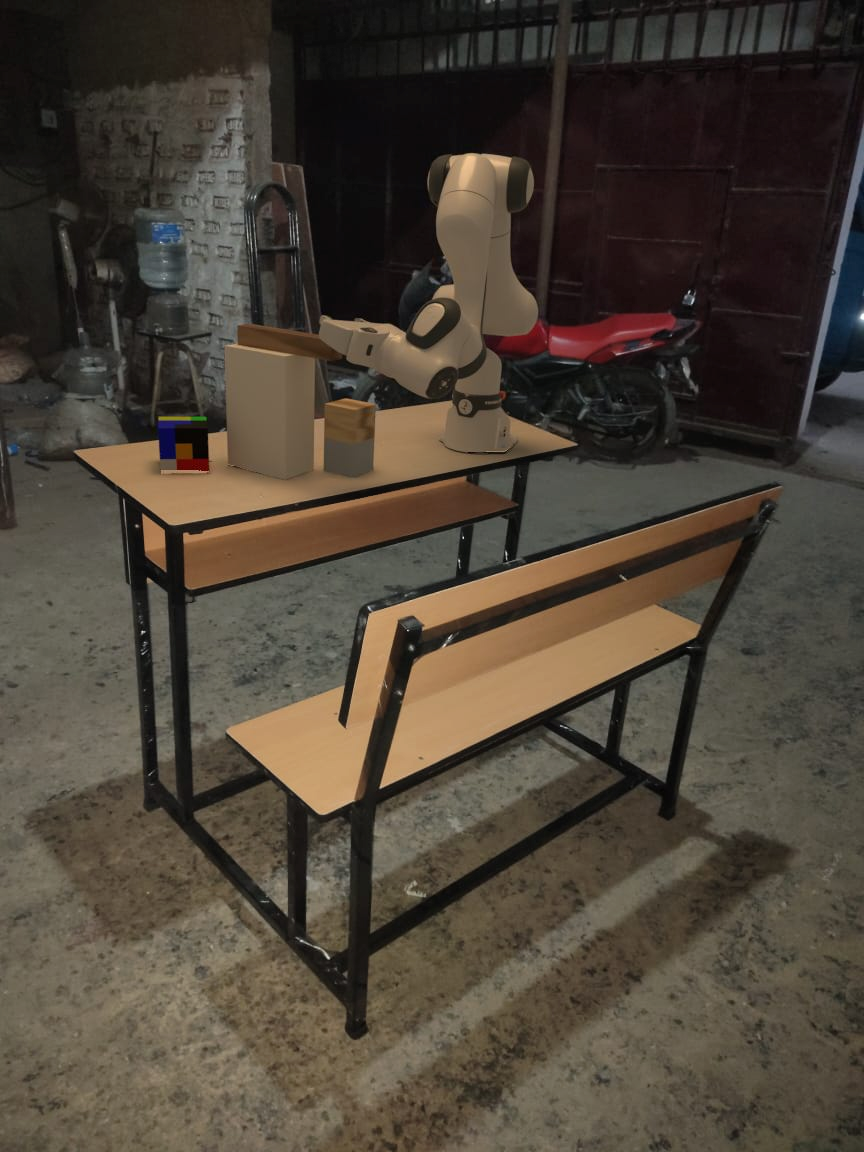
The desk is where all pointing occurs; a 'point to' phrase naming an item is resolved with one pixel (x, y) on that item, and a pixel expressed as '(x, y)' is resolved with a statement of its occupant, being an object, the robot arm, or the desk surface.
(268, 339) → the walnut bar
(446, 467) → the desk surface
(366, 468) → the tower bottom
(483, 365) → the robot arm
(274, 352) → the tall beige box
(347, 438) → the tower top
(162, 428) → the puzzle toy
